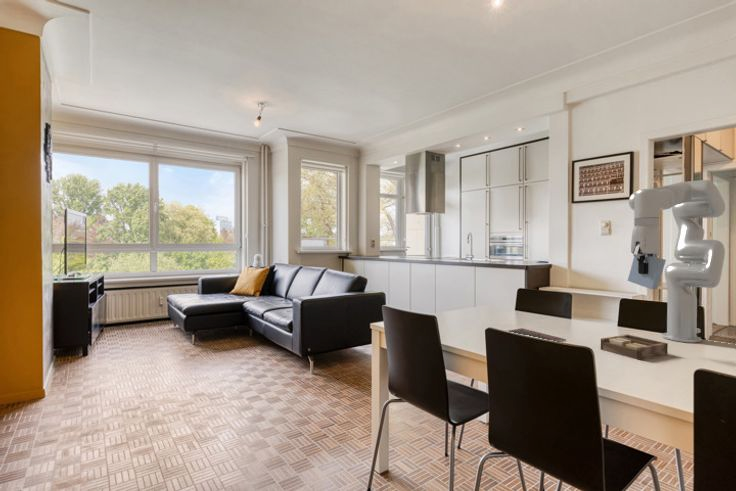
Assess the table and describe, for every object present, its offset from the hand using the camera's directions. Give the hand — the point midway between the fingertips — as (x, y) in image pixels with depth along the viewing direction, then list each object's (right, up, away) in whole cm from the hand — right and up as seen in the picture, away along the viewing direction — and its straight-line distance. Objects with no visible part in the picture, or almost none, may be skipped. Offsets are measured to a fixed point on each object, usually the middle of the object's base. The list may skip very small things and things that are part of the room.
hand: (646, 273), depth 143 cm
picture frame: (-35, -30, +20) cm, 50 cm away
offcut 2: (-8, -28, -6) cm, 30 cm away
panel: (-1, -4, +1) cm, 5 cm away
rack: (-6, -29, -2) cm, 30 cm away
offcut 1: (-10, -28, -1) cm, 30 cm away
